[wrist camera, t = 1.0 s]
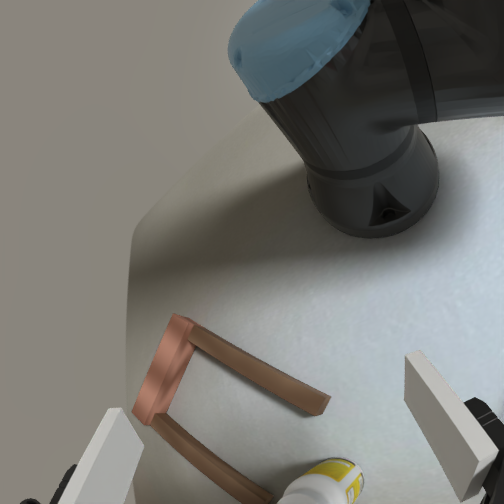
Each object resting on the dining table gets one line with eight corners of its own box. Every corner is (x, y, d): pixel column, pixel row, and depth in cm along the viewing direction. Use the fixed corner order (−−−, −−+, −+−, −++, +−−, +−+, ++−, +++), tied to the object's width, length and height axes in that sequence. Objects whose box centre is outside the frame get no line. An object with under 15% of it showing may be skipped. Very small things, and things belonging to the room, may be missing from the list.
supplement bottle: (303, 472, 27) (253, 500, 19) (347, 446, 26) (310, 472, 18) (329, 511, 24) (287, 551, 16) (375, 487, 23) (348, 527, 15)
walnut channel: (189, 318, 41) (173, 313, 39) (331, 396, 29) (321, 398, 26) (148, 412, 39) (131, 411, 37) (265, 508, 27) (251, 516, 24)
